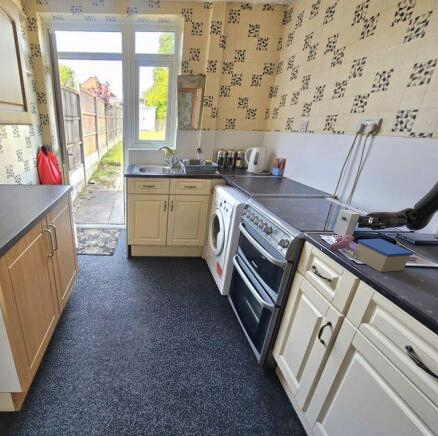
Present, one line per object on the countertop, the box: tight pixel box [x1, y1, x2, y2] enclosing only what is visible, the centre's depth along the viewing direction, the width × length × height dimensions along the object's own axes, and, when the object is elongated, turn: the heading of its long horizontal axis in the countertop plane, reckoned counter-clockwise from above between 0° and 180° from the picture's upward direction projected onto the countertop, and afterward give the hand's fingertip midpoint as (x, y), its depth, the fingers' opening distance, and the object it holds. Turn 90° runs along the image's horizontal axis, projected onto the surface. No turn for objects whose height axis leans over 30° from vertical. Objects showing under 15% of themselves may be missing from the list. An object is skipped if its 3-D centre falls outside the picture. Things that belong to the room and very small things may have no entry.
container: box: [353, 238, 414, 273], centre depth 86 cm, size 11×10×7 cm
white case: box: [333, 209, 361, 237], centre depth 108 cm, size 6×4×11 cm
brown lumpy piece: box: [329, 234, 356, 251], centre depth 97 cm, size 10×5×7 cm, turn 131°
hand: (349, 221), depth 108 cm, fingers open, 8 cm apart
